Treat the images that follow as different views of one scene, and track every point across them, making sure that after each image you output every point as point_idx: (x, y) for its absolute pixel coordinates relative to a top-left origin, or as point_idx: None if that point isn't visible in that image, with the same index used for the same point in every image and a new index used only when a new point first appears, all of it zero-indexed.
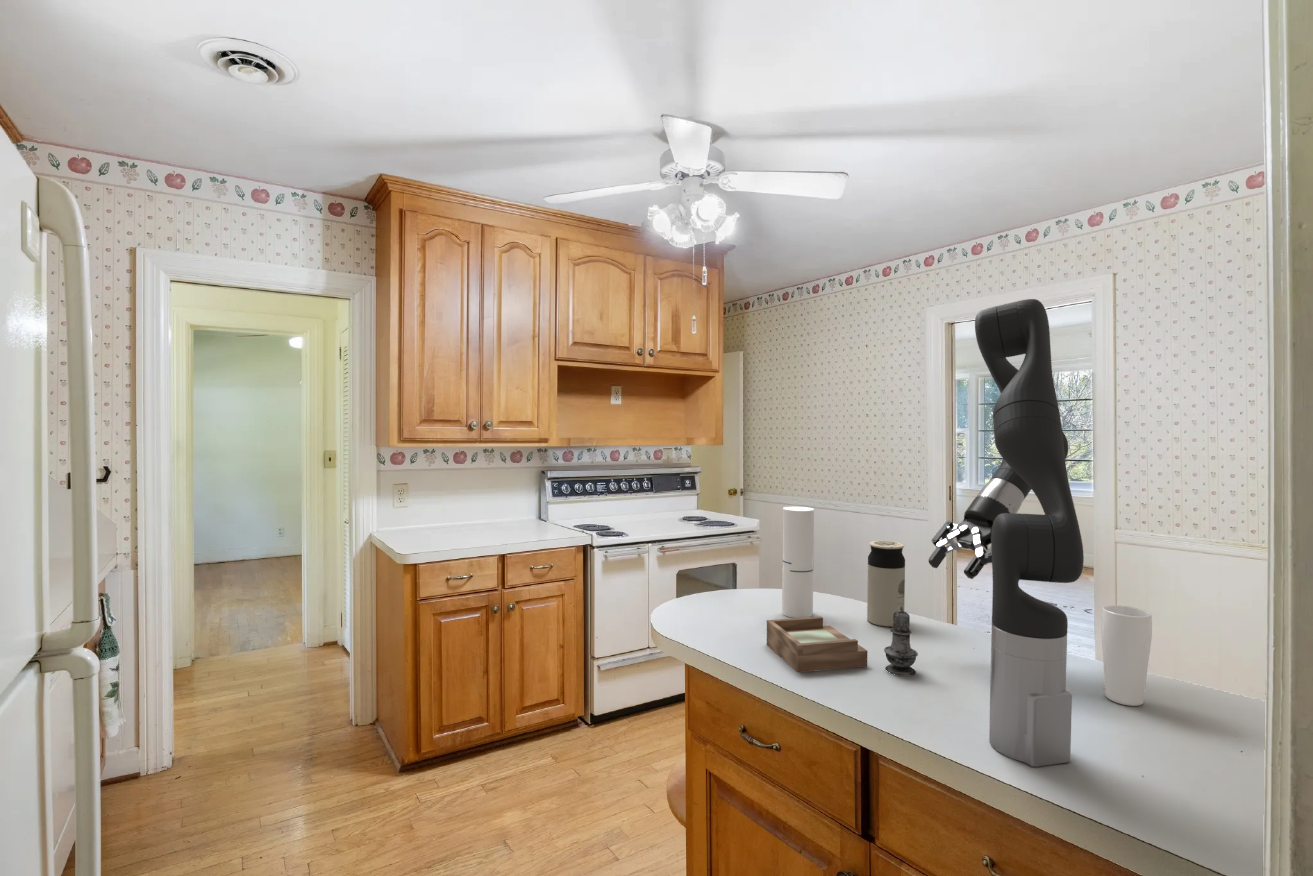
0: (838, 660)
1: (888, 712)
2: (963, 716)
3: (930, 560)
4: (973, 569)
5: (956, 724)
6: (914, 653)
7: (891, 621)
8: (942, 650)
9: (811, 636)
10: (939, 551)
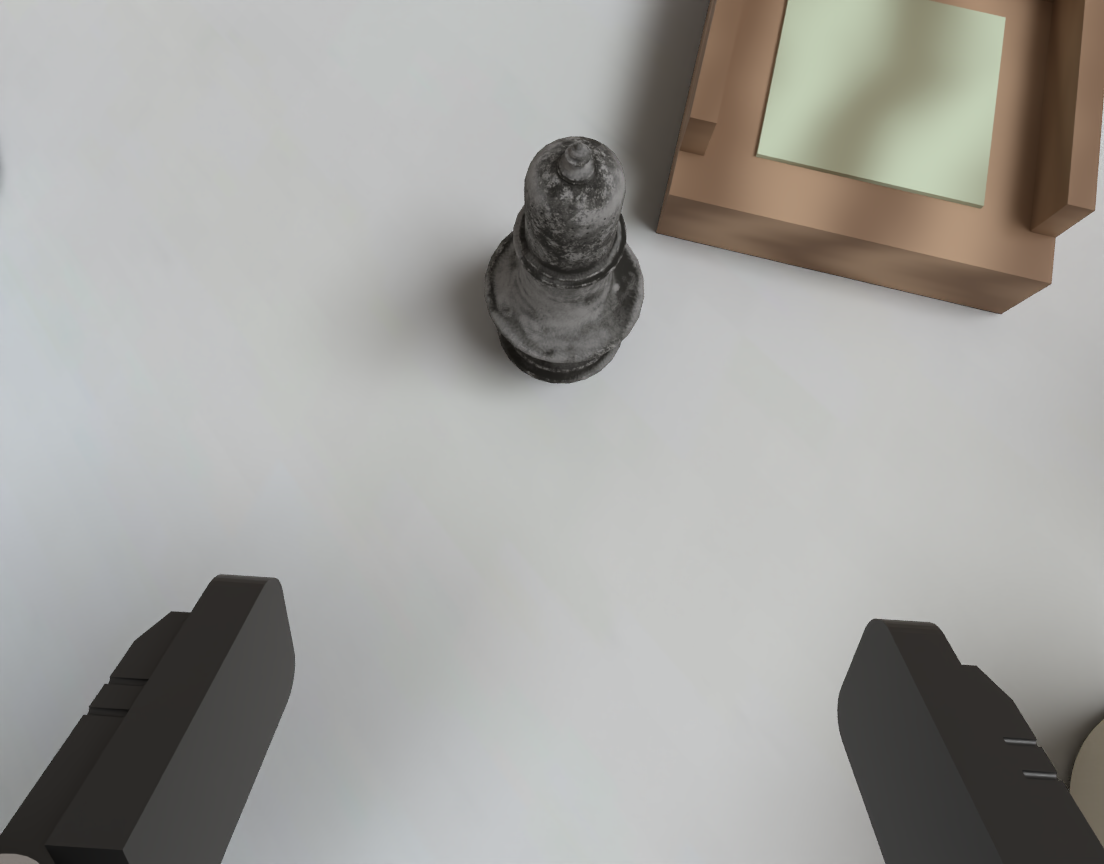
0: (690, 91)
1: (307, 16)
2: (145, 202)
3: (906, 627)
4: (134, 647)
5: (123, 134)
6: (505, 312)
7: (1096, 770)
8: (668, 724)
9: (917, 88)
10: (973, 842)
